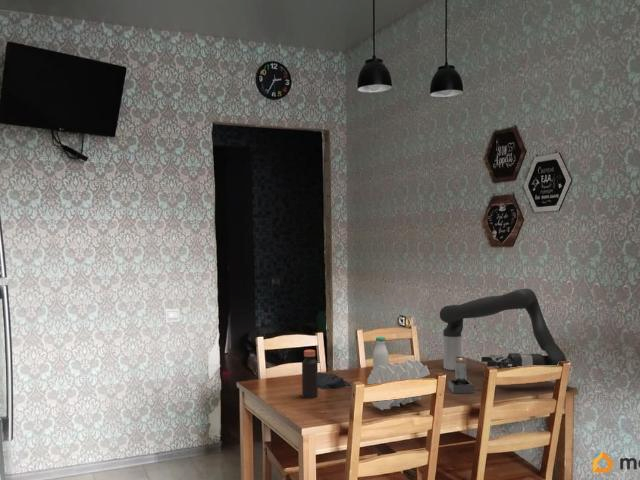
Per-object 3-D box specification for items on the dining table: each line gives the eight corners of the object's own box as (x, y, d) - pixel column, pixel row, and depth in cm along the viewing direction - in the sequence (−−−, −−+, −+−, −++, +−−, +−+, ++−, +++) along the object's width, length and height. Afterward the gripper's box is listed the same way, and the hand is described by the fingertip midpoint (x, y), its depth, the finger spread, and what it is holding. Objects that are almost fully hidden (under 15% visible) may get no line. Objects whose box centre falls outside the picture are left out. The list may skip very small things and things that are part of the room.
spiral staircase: (369, 418, 234) (409, 403, 250) (398, 408, 222) (438, 393, 238) (353, 375, 239) (393, 362, 256) (381, 363, 227) (421, 351, 243)
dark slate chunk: (329, 377, 289) (329, 367, 289) (352, 387, 269) (352, 377, 269) (302, 381, 281) (301, 371, 281) (323, 391, 262) (323, 381, 262)
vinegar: (312, 399, 248) (311, 352, 248) (299, 397, 252) (298, 351, 251) (320, 395, 254) (320, 350, 254) (307, 393, 257) (307, 348, 257)
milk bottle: (388, 380, 280) (387, 338, 280) (372, 379, 281) (371, 338, 281) (389, 376, 287) (389, 336, 287) (373, 375, 289) (373, 335, 289)
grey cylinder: (453, 387, 263) (453, 356, 263) (465, 387, 263) (465, 356, 263) (456, 390, 257) (456, 359, 257) (468, 390, 257) (468, 359, 257)
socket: (448, 388, 264) (448, 380, 264) (468, 387, 265) (468, 379, 265) (453, 393, 255) (453, 385, 255) (473, 393, 256) (473, 384, 256)
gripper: (514, 349, 269) (479, 349, 268) (525, 356, 254) (489, 356, 254) (514, 365, 269) (479, 365, 268) (525, 373, 255) (489, 373, 254)
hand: (484, 361), depth 261 cm, fingers open, 8 cm apart
